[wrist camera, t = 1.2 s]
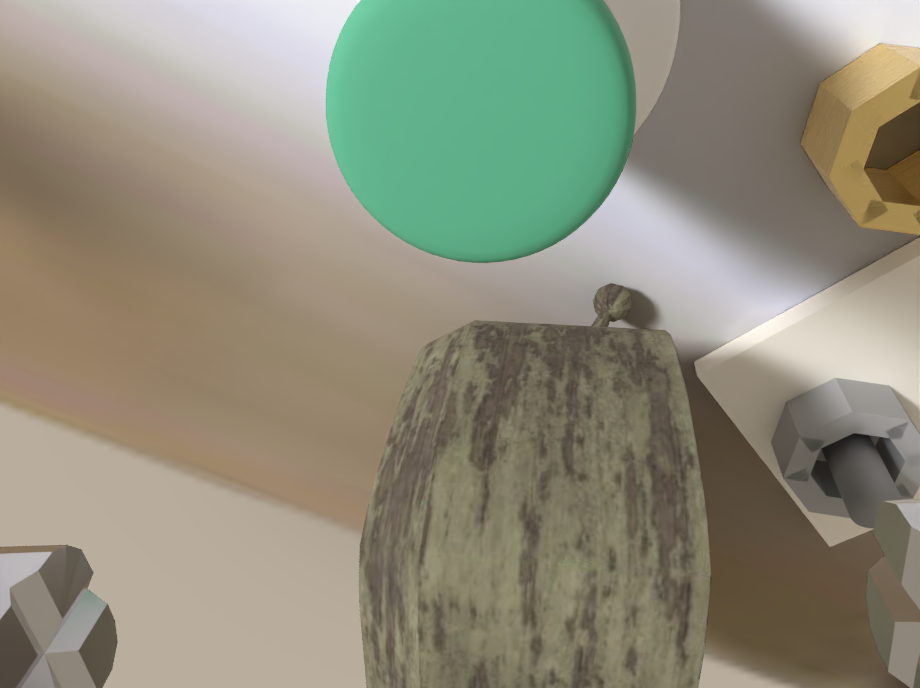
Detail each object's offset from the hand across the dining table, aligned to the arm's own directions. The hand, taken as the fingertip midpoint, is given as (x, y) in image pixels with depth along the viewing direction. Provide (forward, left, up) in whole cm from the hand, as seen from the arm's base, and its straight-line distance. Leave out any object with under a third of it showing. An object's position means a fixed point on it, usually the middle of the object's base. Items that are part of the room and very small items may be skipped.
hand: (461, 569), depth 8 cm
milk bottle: (-2, -3, -26) cm, 26 cm away
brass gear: (-9, +9, -25) cm, 28 cm away
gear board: (-5, +20, -25) cm, 33 cm away
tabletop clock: (+9, +12, -26) cm, 30 cm away
